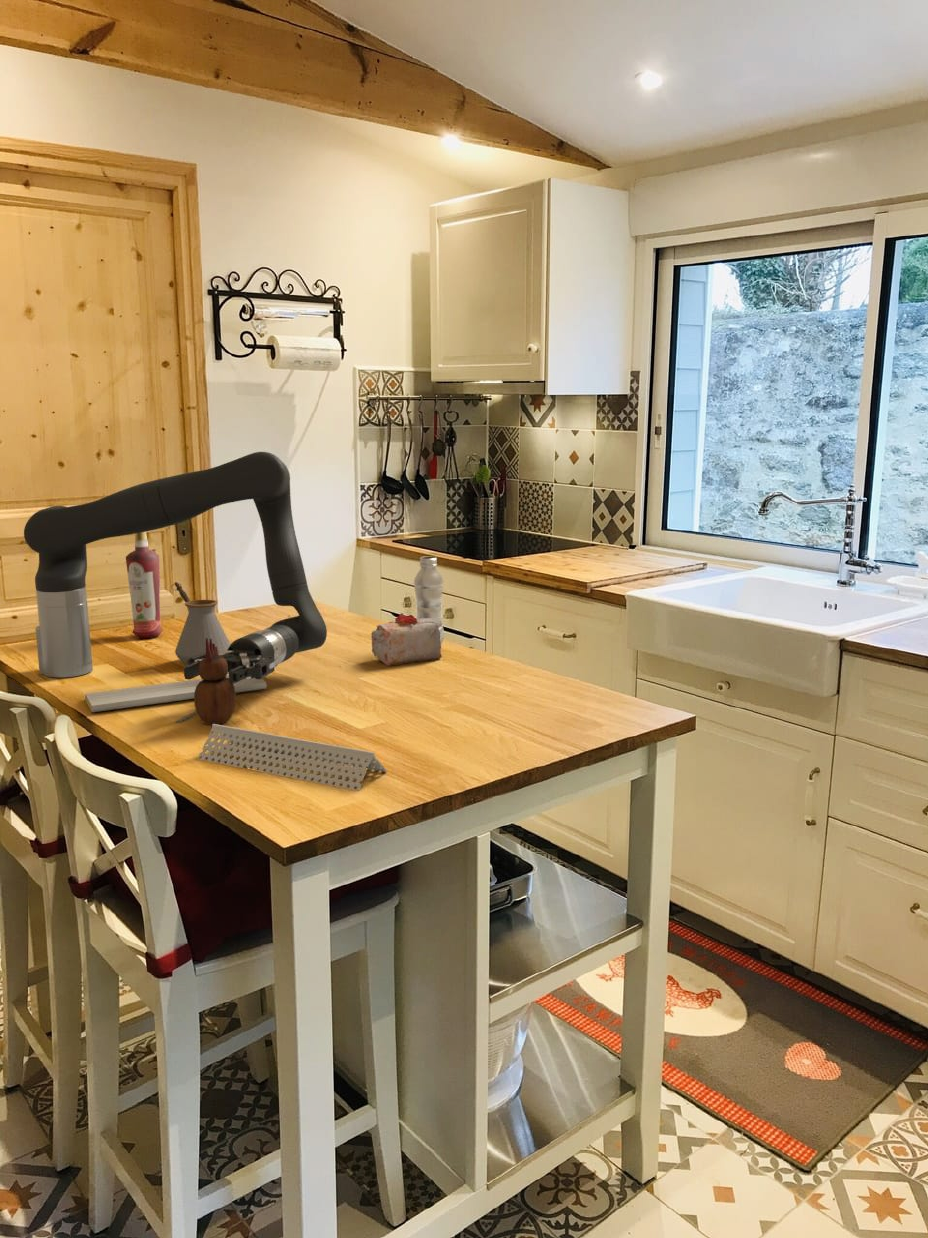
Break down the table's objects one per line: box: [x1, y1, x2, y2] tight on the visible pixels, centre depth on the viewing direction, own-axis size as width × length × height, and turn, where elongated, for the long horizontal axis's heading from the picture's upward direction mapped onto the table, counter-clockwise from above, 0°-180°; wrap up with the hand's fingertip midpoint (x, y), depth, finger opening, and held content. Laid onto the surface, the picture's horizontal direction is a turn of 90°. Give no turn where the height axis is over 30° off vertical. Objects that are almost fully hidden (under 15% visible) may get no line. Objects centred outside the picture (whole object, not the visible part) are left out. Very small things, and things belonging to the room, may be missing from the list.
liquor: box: [125, 531, 164, 640], centre depth 229 cm, size 7×7×28 cm
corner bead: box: [197, 724, 388, 792], centre depth 148 cm, size 29×9×5 cm, turn 63°
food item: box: [370, 612, 443, 667], centre depth 209 cm, size 14×8×10 cm, turn 119°
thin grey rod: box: [175, 693, 238, 723], centre depth 177 cm, size 1×19×1 cm, turn 161°
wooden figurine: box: [193, 638, 236, 726], centre depth 168 cm, size 7×6×15 cm
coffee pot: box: [170, 581, 231, 666], centre depth 211 cm, size 21×12×15 cm, turn 34°
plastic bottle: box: [413, 555, 445, 645], centre depth 219 cm, size 6×7×20 cm
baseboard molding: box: [84, 674, 268, 713], centre depth 185 cm, size 31×3×12 cm
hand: (208, 675), depth 166 cm, fingers open, 8 cm apart
